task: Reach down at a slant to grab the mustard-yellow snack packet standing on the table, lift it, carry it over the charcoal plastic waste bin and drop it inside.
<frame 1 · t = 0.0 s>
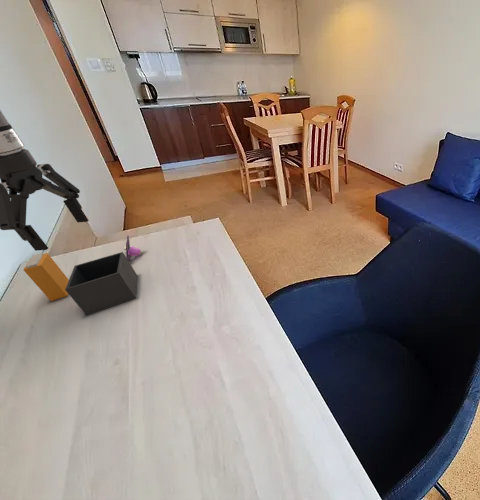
hand: (64, 234, 78), 21 cm above the table, tool pointing down, fingers open, 13 cm apart
bin: (114, 294, 90), on the table
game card: (136, 256, 107), on the table
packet: (61, 292, 93), on the table
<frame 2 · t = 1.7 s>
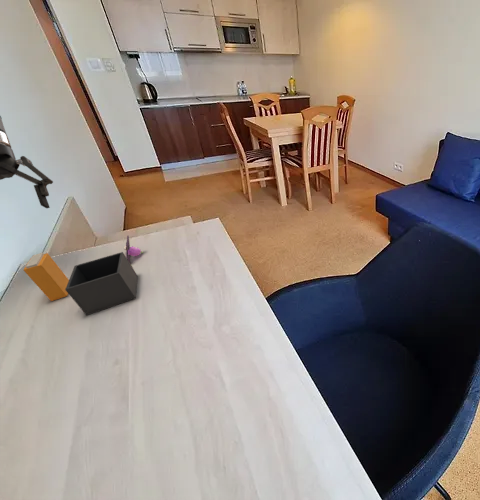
hand: (16, 213, 87), 23 cm above the table, tool tilted 45°, fingers open, 13 cm apart
nothing on the table moved.
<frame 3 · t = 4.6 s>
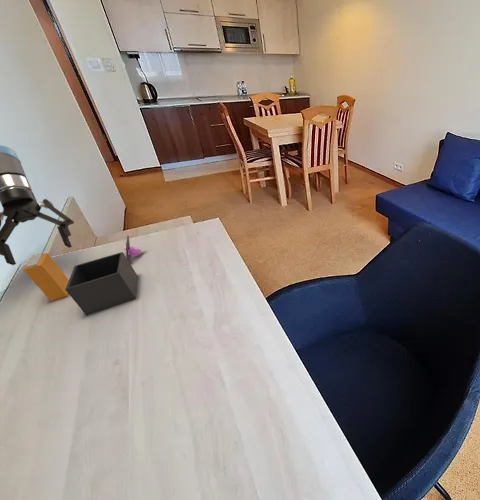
hand: (41, 254, 91), 11 cm above the table, tool tilted 45°, fingers open, 13 cm apart
nothing on the table moved.
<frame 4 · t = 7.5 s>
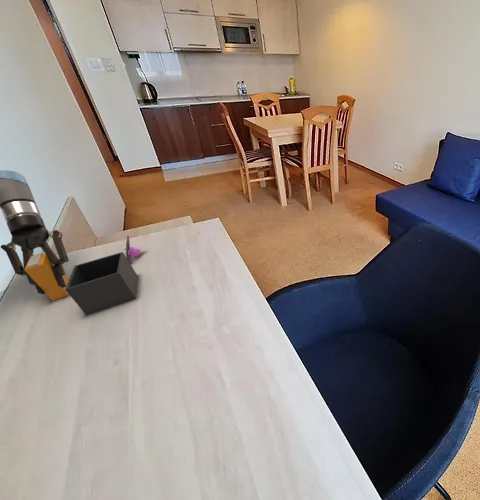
hand: (52, 289, 88), 4 cm above the table, tool tilted 45°, fingers closed on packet, 4 cm apart
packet: (62, 291, 93), on the table, touching gripper
everything else where it was.
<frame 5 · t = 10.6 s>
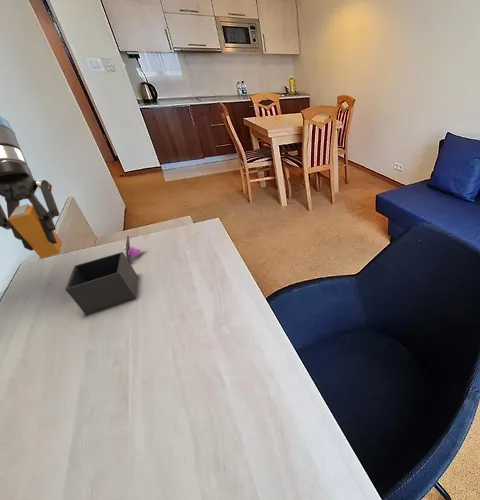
hand: (41, 245, 78), 19 cm above the table, tool tilted 45°, fingers closed on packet, 4 cm apart
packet: (52, 250, 83), point 16 cm above the table, touching gripper
everything else where it was.
when the fingers open (14 cm above the table, at t = 13.6 s): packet drops 10 cm, resting on bin.
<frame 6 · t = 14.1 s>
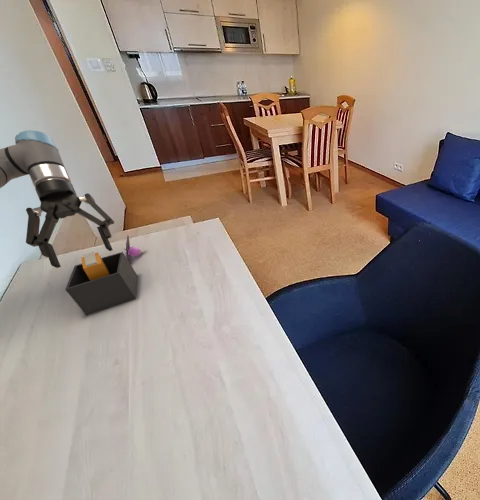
hand: (83, 257, 80), 15 cm above the table, tool tilted 45°, fingers open, 11 cm apart
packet: (110, 293, 90), point 1 cm above the table, touching bin
everything else where it was.
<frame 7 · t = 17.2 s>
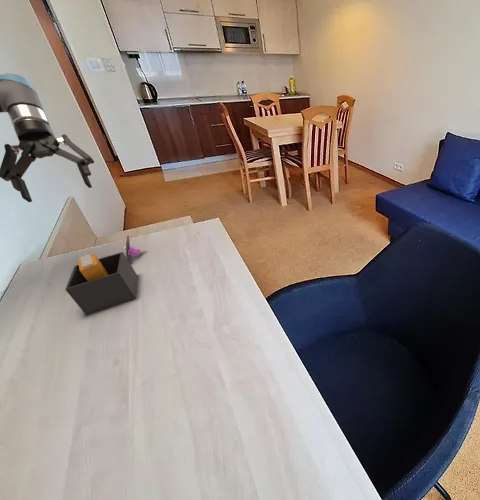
hand: (59, 192, 83), 29 cm above the table, tool tilted 45°, fingers open, 13 cm apart
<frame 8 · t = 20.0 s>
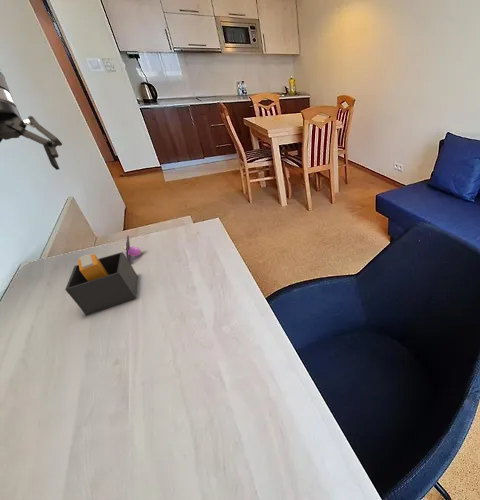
hand: (25, 173, 83), 34 cm above the table, tool tilted 45°, fingers open, 13 cm apart
nothing on the table moved.
at the end: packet inside the target area in the bin (0.6 cm from its centre), point 0.6 cm above the bin's base; the gripper is holding nothing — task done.
